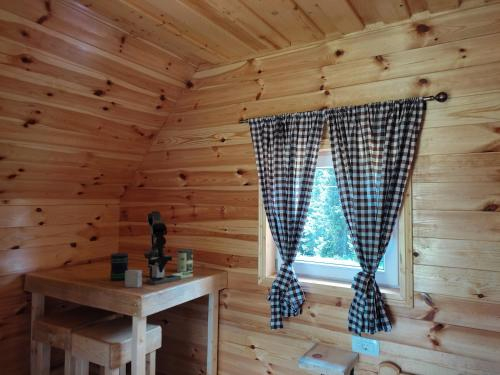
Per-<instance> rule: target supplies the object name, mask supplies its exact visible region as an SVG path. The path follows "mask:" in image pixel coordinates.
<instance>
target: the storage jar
mask: <svg viewBox="0 0 500 375" xmlns="http://www.w3.org/2000/svg"><path fill="white" fill-rule="evenodd" d="M128 264H129V253H127V252H126V253H125V252H121V253H120V252H119V253H117V252H116V253H112V254H110V281H111V282H114V281H119V282H125V271H127V270H129V269H128V267H129V265H128Z"/></svg>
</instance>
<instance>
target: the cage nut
mask: <svg viewBox="0 0 500 375" xmlns="http://www.w3.org/2000/svg"><path fill="white" fill-rule="evenodd" d="M164 276H165V268H164V269H163V271H162V273H160V268H159V263H158V262H155V265H152V277H156V278H158V277H164Z"/></svg>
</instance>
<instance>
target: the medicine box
mask: <svg viewBox="0 0 500 375" xmlns="http://www.w3.org/2000/svg"><path fill="white" fill-rule="evenodd" d="M142 286H143V270H142V269H128V270H127V271H125V281H124V287H125V288H140V287H142Z"/></svg>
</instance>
